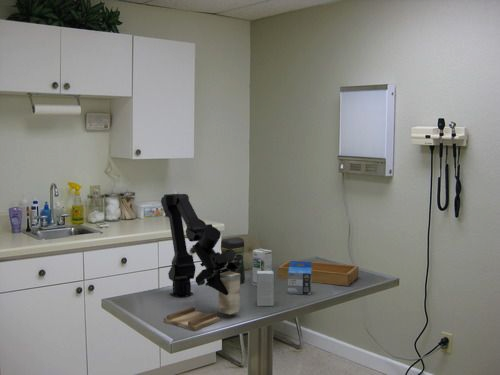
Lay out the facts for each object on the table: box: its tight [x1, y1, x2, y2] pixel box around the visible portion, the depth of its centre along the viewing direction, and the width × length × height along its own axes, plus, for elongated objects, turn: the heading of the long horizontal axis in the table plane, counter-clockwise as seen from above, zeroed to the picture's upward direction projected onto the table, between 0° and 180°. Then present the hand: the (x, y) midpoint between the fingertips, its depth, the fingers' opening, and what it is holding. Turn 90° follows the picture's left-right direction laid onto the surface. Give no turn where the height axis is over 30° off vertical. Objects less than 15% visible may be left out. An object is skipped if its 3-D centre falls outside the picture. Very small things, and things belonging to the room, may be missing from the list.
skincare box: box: [256, 270, 275, 307], centre depth 209 cm, size 6×4×12 cm
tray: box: [277, 259, 359, 287], centre depth 247 cm, size 31×15×6 cm, turn 64°
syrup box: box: [251, 248, 273, 287], centre depth 235 cm, size 6×6×14 cm
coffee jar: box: [220, 236, 246, 284], centre depth 239 cm, size 10×8×19 cm
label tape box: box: [287, 260, 312, 296], centre depth 224 cm, size 9×4×12 cm, turn 80°
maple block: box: [217, 271, 241, 315], centre depth 196 cm, size 5×5×13 cm
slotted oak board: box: [163, 306, 221, 332], centre depth 191 cm, size 14×12×2 cm
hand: (232, 292), depth 195 cm, fingers closed on maple block, 5 cm apart
